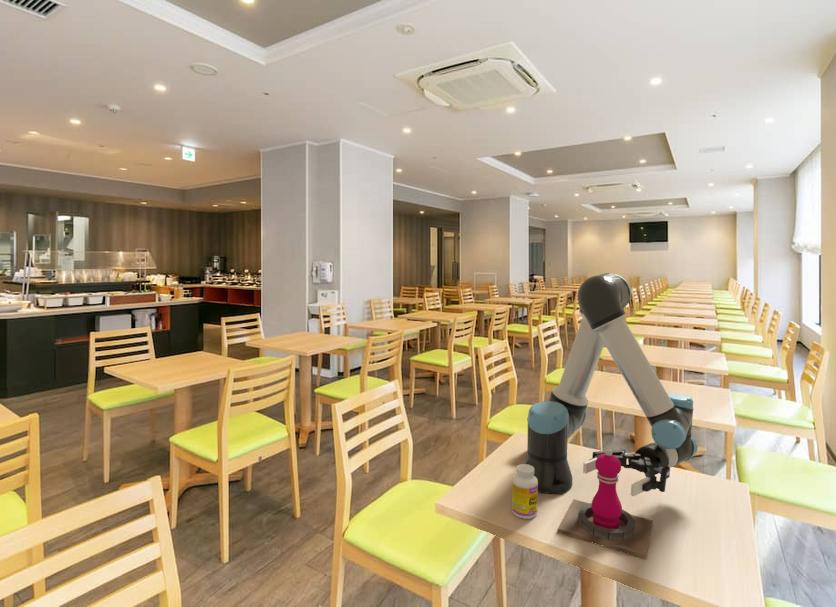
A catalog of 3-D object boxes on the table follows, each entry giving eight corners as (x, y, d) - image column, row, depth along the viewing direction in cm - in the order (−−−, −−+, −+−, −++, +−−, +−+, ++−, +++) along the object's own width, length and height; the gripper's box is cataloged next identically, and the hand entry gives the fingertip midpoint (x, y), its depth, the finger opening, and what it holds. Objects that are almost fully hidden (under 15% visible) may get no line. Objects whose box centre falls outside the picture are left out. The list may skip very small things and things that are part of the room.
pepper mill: (587, 526, 118) (590, 451, 116) (594, 513, 124) (597, 441, 122) (618, 536, 114) (621, 458, 112) (624, 521, 120) (627, 447, 118)
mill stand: (557, 532, 118) (557, 521, 118) (573, 502, 131) (573, 492, 131) (645, 559, 107) (646, 547, 107) (652, 523, 121) (653, 513, 121)
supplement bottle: (530, 523, 122) (531, 476, 120) (507, 514, 126) (508, 468, 125) (541, 511, 127) (542, 466, 125) (519, 503, 131) (519, 459, 130)
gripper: (702, 489, 118) (654, 516, 107) (614, 453, 139) (566, 473, 128) (704, 461, 118) (656, 485, 106) (615, 429, 138) (567, 446, 127)
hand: (607, 478), depth 117 cm, fingers open, 13 cm apart
